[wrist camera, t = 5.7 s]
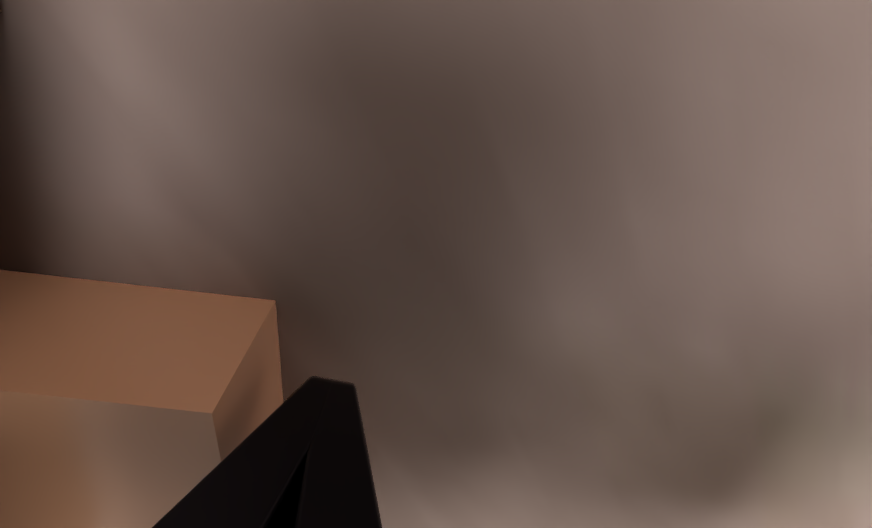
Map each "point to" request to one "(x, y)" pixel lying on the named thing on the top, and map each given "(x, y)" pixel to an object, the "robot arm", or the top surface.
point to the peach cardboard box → (123, 396)
